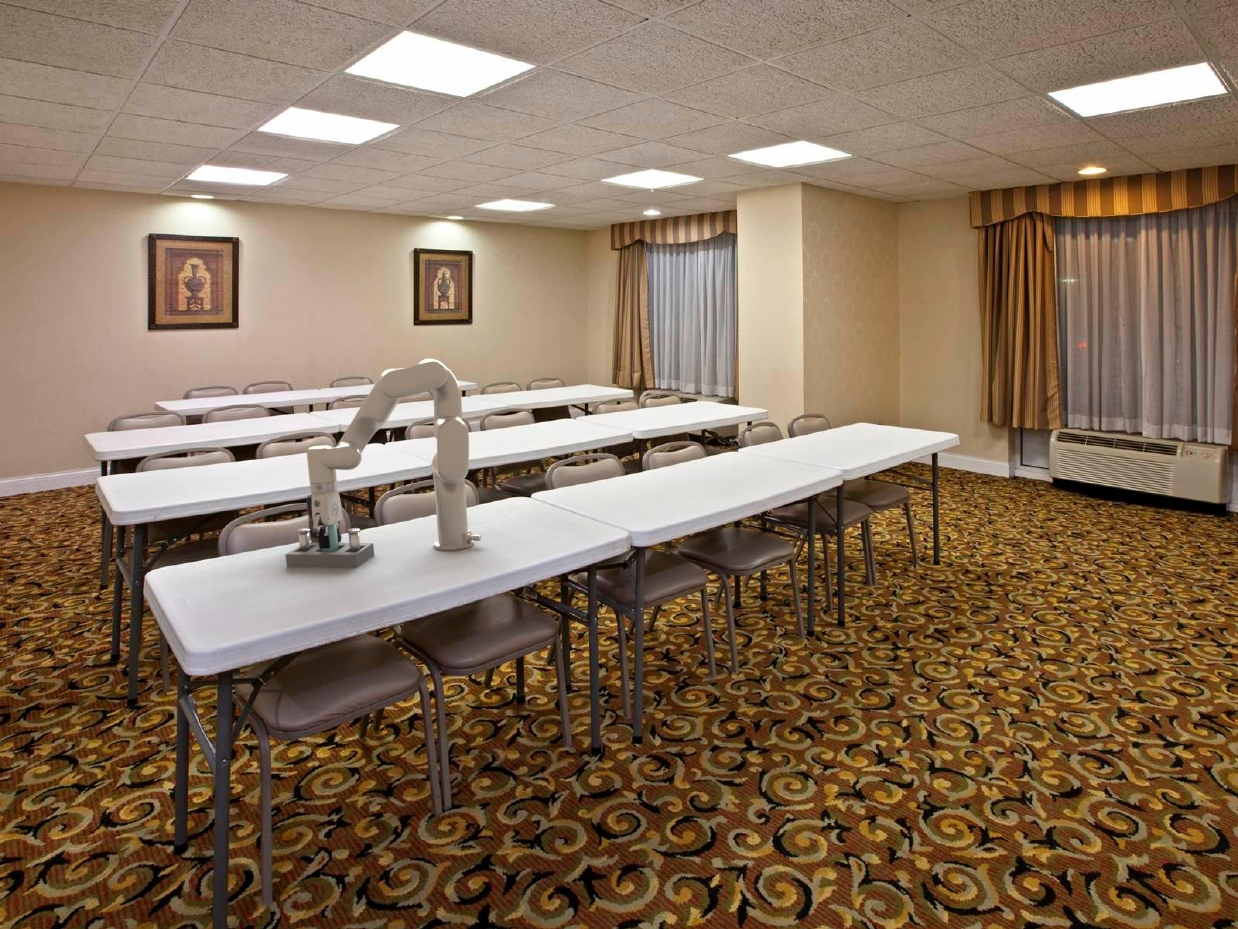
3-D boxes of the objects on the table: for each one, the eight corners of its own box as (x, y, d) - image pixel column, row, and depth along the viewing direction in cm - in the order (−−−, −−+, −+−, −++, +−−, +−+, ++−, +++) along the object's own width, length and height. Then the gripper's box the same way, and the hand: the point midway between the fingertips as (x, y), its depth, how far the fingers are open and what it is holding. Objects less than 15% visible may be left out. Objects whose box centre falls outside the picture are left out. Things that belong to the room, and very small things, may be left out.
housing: (374, 555, 232) (373, 543, 231) (357, 567, 220) (355, 555, 219) (307, 554, 234) (306, 542, 233) (286, 567, 222) (285, 554, 222)
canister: (331, 549, 239) (325, 494, 236) (305, 548, 241) (299, 494, 238) (347, 540, 248) (342, 488, 245) (322, 539, 250) (316, 487, 247)
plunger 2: (364, 555, 228) (362, 528, 226) (359, 559, 224) (356, 531, 222) (352, 555, 228) (350, 528, 226) (347, 559, 224) (344, 531, 223)
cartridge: (342, 558, 229) (338, 518, 227) (335, 563, 224) (330, 522, 222) (327, 558, 230) (323, 517, 227) (320, 563, 225) (315, 522, 223)
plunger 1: (315, 554, 229) (312, 528, 228) (308, 558, 226) (305, 531, 224) (303, 554, 230) (300, 527, 228) (297, 558, 226) (294, 531, 224)
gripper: (321, 493, 214) (327, 553, 217) (348, 480, 231) (354, 537, 234) (296, 493, 215) (303, 553, 218) (325, 481, 231) (331, 537, 235)
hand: (329, 544), depth 226 cm, fingers open, 5 cm apart
